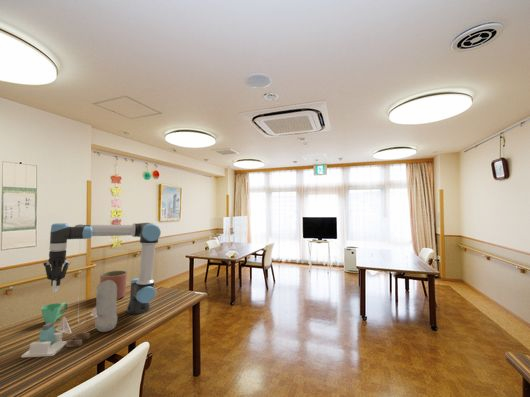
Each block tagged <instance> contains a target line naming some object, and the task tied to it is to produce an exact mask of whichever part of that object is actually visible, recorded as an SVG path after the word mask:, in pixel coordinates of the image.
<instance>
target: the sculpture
mask: <svg viewBox="0 0 530 397" xmlns="http://www.w3.org/2000/svg"><path fill="white" fill-rule="evenodd" d="M95 294H96V296H95V297H96V299H95V300H96V303H95V304H96V306H95V308H96V315H97V316H96V317H95V320H94V326H95V329H96V330H97V331H98V332H100V333H107V332H109V331H112V330H113V329H115V328H116V326H117V323H118V314H117V306H118V305H117V301H118V300H117V285H116V283H115V282H114V281H112V280H106V281H104V282H102V283H100V282H99V283H98V284H97V286H96V293H95Z"/></svg>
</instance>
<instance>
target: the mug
mask: <svg viewBox="0 0 530 397" xmlns="http://www.w3.org/2000/svg"><path fill="white" fill-rule="evenodd" d="M62 306H63V308H62ZM67 307H68V303H66V302H60V303H50V304H46V305H43V306H42V307H41V309H40V310H41V314H42V319H43V321H44V323H45V324H47V323H53V324H54V323H55V322H56V321H57V319H59V318H60V317H61V316H62V315H63V314H64V313H65V312H66V310H67V309H68V308H67Z"/></svg>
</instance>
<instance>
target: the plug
mask: <svg viewBox="0 0 530 397" xmlns="http://www.w3.org/2000/svg"><path fill="white" fill-rule="evenodd" d="M55 328H56V326H55V325H54V323H47V324H46V323H45V324H44V325H42V329H41V330H39V340H38V342H46V341H51V345H52V344H54V333H56V332H55V331H56V330H55ZM51 345H50V346H51Z"/></svg>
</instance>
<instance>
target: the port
mask: <svg viewBox="0 0 530 397" xmlns="http://www.w3.org/2000/svg"><path fill="white" fill-rule="evenodd" d="M67 341H68V340H63V332H54V344H52V345H51V341H46V342H39V341H33V342H31V343H30V344H29V349H28V350H27V351H26V352H24V353H23V354H22V355H21V356H20V357H21V358H41V357H53V356H55V355H56V354H57V353H58V352H59V351H60V350H62V349H63V348H64V347H66V343H67ZM50 345H51V346H50Z"/></svg>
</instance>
